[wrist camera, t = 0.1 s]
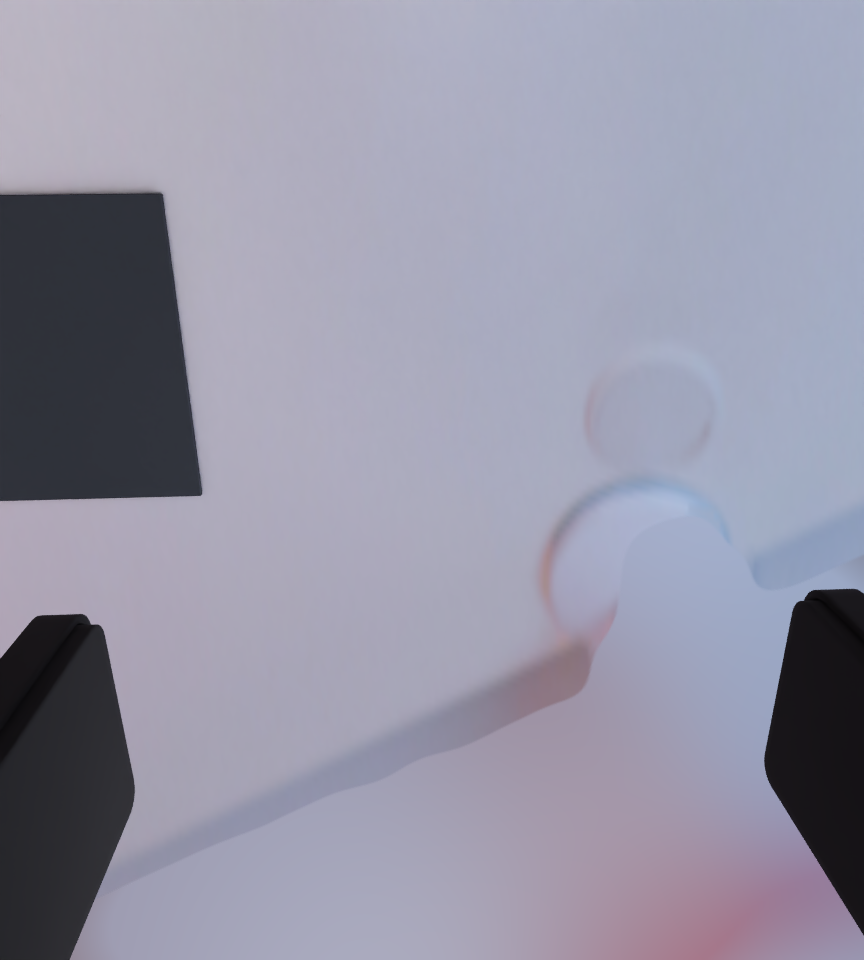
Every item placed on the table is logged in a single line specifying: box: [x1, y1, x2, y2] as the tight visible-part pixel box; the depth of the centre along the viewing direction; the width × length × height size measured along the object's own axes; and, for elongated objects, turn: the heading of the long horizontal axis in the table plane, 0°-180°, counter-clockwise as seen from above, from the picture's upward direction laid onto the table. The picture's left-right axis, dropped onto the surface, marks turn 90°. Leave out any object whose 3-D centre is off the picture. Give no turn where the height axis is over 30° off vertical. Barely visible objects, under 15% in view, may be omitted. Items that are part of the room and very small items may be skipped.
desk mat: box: [0, 194, 202, 501], centre depth 44 cm, size 18×20×1 cm
